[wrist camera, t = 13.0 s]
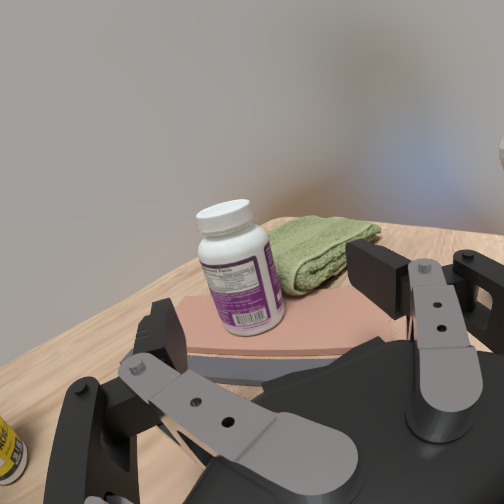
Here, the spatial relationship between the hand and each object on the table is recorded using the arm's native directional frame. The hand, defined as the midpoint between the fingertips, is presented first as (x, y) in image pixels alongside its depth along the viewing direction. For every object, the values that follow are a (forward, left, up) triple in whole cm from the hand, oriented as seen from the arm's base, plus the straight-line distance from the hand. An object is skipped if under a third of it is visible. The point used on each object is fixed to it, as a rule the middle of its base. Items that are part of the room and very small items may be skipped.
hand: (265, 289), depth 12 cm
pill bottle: (-5, +8, -8) cm, 12 cm away
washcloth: (-2, +21, -8) cm, 22 cm away
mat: (-4, +7, -8) cm, 11 cm away
